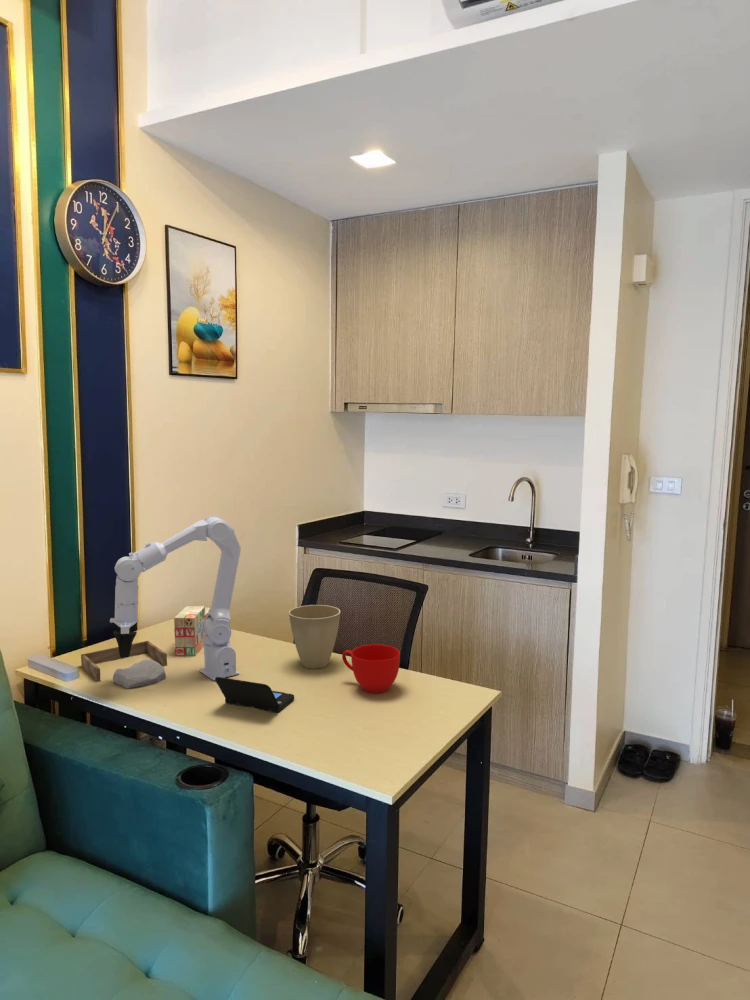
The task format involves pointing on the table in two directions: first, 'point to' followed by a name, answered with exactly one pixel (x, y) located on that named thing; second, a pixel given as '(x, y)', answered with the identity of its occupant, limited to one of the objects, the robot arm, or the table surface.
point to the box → (113, 654)
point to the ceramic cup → (374, 666)
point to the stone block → (139, 674)
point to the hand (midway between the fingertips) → (125, 652)
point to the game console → (253, 695)
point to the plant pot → (314, 633)
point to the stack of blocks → (190, 630)
